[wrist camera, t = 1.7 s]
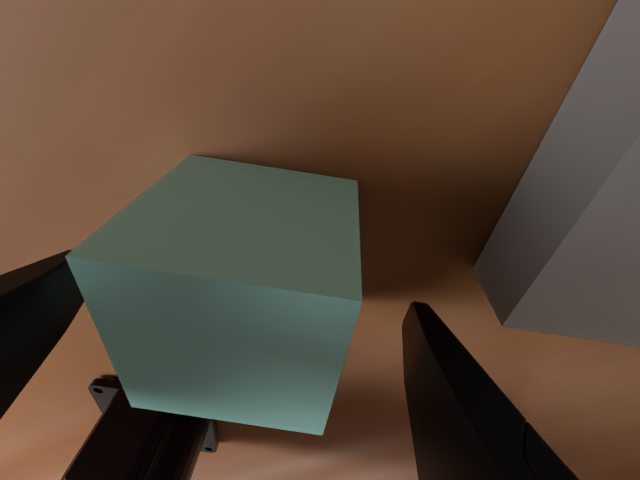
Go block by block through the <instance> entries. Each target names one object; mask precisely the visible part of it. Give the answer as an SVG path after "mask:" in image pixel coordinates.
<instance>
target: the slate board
mask: <svg viewBox="0 0 640 480" xmlns="http://www.w3.org/2000/svg"><path fill="white" fill-rule="evenodd" d="M473 269H474V271H475V273H476V275H477V277H478V279H479V281H480V283H481V285H482V287H483V289H484V291H485V293H486V295H487V297H488V299H489V301H490V303H491V305H492V307H493V309H494V311H495V313H496V315H497V317H498V319H499V321H500V323H501V325H502V326H505V327H511V328H518V329H524V330H531V331H538V332H544V333H551V334H557V335H564V336H571V337H577V338H584V339H591V340H597V341H604V342H610V343H617V344H624V345H630V346H637V347H640V0H618V1H617V3H616V5H615V7H614V9H613V11H612V13H611V14H610V16H609V18H608V20H607V22H606V24H605V25H604V27H603V29H602V31H601V33H600V35H599V36H598V38H597V40H596V42H595V44H594V46H593V48H592V49H591V51H590V53H589V55H588V57H587V59H586V60H585V62H584V64H583V66H582V68H581V70H580V72H579V73H578V75H577V77H576V79H575V81H574V83H573V84H572V86H571V88H570V90H569V92H568V94H567V95H566V97H565V99H564V101H563V103H562V105H561V107H560V108H559V110H558V112H557V114H556V116H555V118H554V119H553V121H552V123H551V125H550V127H549V129H548V130H547V132H546V134H545V136H544V138H543V140H542V142H541V143H540V145H539V147H538V149H537V151H536V153H535V154H534V156H533V158H532V160H531V162H530V164H529V165H528V167H527V169H526V171H525V173H524V175H523V177H522V178H521V180H520V182H519V184H518V186H517V188H516V189H515V191H514V193H513V195H512V197H511V199H510V201H509V202H508V204H507V206H506V208H505V210H504V212H503V213H502V215H501V217H500V219H499V221H498V223H497V224H496V226H495V228H494V230H493V232H492V234H491V236H490V237H489V239H488V241H487V243H486V245H485V247H484V248H483V250H482V252H481V254H480V256H479V258H478V259H477V261H476V263H475V265H474V267H473Z"/></svg>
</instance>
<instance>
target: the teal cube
mask: <svg viewBox="0 0 640 480" xmlns="http://www.w3.org/2000/svg"><path fill="white" fill-rule="evenodd" d="M65 257H66V260H67V262H68V264H69V267H70V269H71V271H72V273H73V276H74V278H75V280H76V282H77V285H78V287H79V289H80V292H81V294H82V296H83V298H84V301H85V303H86V305H87V307H88V310H89V312H90V314H91V317H92V319H93V321H94V323H95V326H96V328H97V330H98V332H99V335H100V337H101V339H102V342H103V344H104V346H105V348H106V351H107V353H108V355H109V357H110V360H111V362H112V364H113V366H114V369H115V371H116V373H117V376H118V378H119V380H120V382H121V385H122V387H123V389H124V391H125V394H126V396H127V398H128V401H129V403H130V405H131V407H135V408H142V409H148V410H155V411H162V412H168V413H175V414H182V415H188V416H195V417H202V418H208V419H215V420H222V421H228V422H235V423H242V424H248V425H255V426H262V427H268V428H275V429H282V430H288V431H295V432H302V433H308V434H315V435H322V436H323V432H324V429H325V426H326V422H327V419H328V416H329V412H330V409H331V406H332V402H333V399H334V396H335V392H336V389H337V385H338V382H339V379H340V375H341V372H342V369H343V365H344V362H345V359H346V355H347V352H348V349H349V345H350V342H351V338H352V335H353V332H354V328H355V325H356V322H357V318H358V315H359V312H360V308H361V305H362V278H361V254H360V229H359V204H358V181H357V180H351V179H344V178H338V177H331V176H325V175H319V174H312V173H306V172H299V171H293V170H286V169H280V168H273V167H267V166H261V165H254V164H248V163H241V162H235V161H228V160H222V159H216V158H209V157H203V156H196V155H189V156H188V157H187V158H186V159H184V160H183V161H182V162H181V163H179V164H178V165H177V166H176V167H175V168H173V169H172V170H171V171H170V172H168V173H167V174H166V175H165V176H163V177H162V178H161V179H160V180H158V181H157V182H156V183H155V184H154V185H152V186H151V187H150V188H149V189H147V190H146V191H145V192H144V193H142V194H141V195H140V196H139V197H137V198H136V199H135V200H134V201H133V202H131V203H130V204H129V205H128V206H126V207H125V208H124V209H123V210H121V211H120V212H119V213H118V214H116V215H115V216H114V217H113V218H112V219H110V220H109V221H108V222H107V223H105V224H104V225H103V226H102V227H100V228H99V229H98V230H97V231H95V232H94V233H93V234H92V235H91V236H89V237H88V238H87V239H86V240H84V241H83V242H82V243H81V244H79V245H78V246H77V247H76V248H74V249H73V250H72V251H71V252H70V253H68V254H67V255H66V256H65Z"/></svg>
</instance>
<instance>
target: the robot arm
mask: <svg viewBox="0 0 640 480" xmlns="http://www.w3.org/2000/svg"><path fill="white" fill-rule="evenodd" d="M71 251H72V250H67V251H65V252H62V253H59V254H56V255H54V256H51V257H48V258H46V259H43V260H40V261H37V262H35V263H32V264H29V265H26V266H24V267H21V268H18V269H16V270H13V271H10V272H7V273H5V274H2V275H0V419H1V418H2V416H3V415H4V414H5V412H6V411H7V410H8V408H9V407H10V406H11V404H12V403H13V402H14V400H15V399H16V398H17V396H18V395H19V394H20V392H21V391H22V390H23V388H24V387H25V386H26V384H27V383H28V382H29V380H30V379H31V378H32V376H33V375H34V374H35V372H36V371H37V370H38V368H39V367H40V366H41V364H42V363H43V362H44V360H45V359H46V357H47V356H48V355H49V353H50V352H51V351H52V349H53V348H54V347H55V345H56V344H57V343H58V341H59V340H60V339H61V337H62V336H63V335H64V333H65V332H66V330H67V329H68V327H69V326H70V324H71V322H72V321H73V319H74V317H75V316H76V314H77V312H78V311H79V309H80V307H81V306H82V304H83V303H84V298H83V296H82V294H81V292H80V289H79V287H78V285H77V282H76V280H75V278H74V276H73V273H72V271H71V269H70V267H69V264H68V262H67V260H66V257H65V256H66V255H67V254H68V253H70V252H71ZM402 338H403V367H404V384H405V391H406V398H407V405H408V412H409V418H410V425H411V432H412V438H413V445H414V452H415V459H416V465H417V472H418V479H419V480H579V479H578V478H577V476H576V475H575V474H574V473H573V472H572V471H571V470H570V469H569V468H568V467H567V466H566V465H565V464H564V462H563V461H562V460H561V459H560V458H559V457H558V456H557V455H556V453H555V452H554V451H553V450H552V449H551V448H550V447H549V445H548V444H547V443H546V442H545V441H544V440H543V439H542V437H541V436H540V435H539V434H538V433H537V432H536V430H535V429H534V428H533V427H532V426H531V424H530V423H529V422H526V419H525V418H524V416H523V415H522V414H521V413H520V412H519V411H518V409H517V408H516V407H515V406H514V405H513V403H512V402H511V401H510V400H509V399H508V398H507V396H506V395H505V394H504V393H503V392H502V391H501V389H500V388H499V387H498V386H497V385H496V383H495V382H494V381H493V380H492V379H491V378H490V376H489V375H488V374H487V373H486V372H485V371H484V369H483V368H482V367H481V366H480V365H479V363H478V362H477V361H476V360H475V359H474V358H473V356H472V355H471V354H470V353H469V352H468V351H467V349H466V348H465V347H464V346H463V345H462V343H461V342H460V341H459V340H458V339H457V338H456V336H455V335H454V334H453V333H452V332H451V331H450V329H449V328H448V327H447V326H446V325H445V323H444V322H443V321H442V320H441V319H440V318H439V316H438V315H437V314H436V313H435V312H434V311H433V309H432V308H431V307H430V306H429V305H428V304H426V303H422V302H415V301H414V302H412V303H411V304H410V306H409V308H408V311H407V313H406V315H405V318H404V320H403V325H402ZM88 389H89V391H90V393H91V394H92V396H93V398H94V400H95V401H96V403H97V405H98V407H99V408H100V410H101V412H102V415H101V417H100V418H99V420H98V421H97V423H96V425H95V426H94V428H93V429H92V431H91V432H90V434H89V436H88V437H87V439H86V440H85V442H84V443H83V445H82V447H81V448H80V450H79V451H78V453H77V454H76V456H75V458H74V459H73V461H72V462H71V464H70V465H69V467H68V469H67V470H66V472H65V473H64V475H63V476H62V479H61V480H190V479H191V476H192V473H193V471H194V468H195V465H196V462H197V459H198V456H199V454H200V451H202V452H209V453H214V452H216V450H217V447H218V444H219V442H218V435H217V428H216V421H215V419H208V418H202V417H195V416H188V415H182V414H175V413H168V412H162V411H155V410H148V409H142V408H135V407H131V405H130V403H129V401H128V398H127V396H126V394H125V391H124V389H123V387H122V385H121V382H120V381H114V380H107V379H100V378H96V379H94V380H93V382H92V383H91V384H90V386H89V387H88Z"/></svg>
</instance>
